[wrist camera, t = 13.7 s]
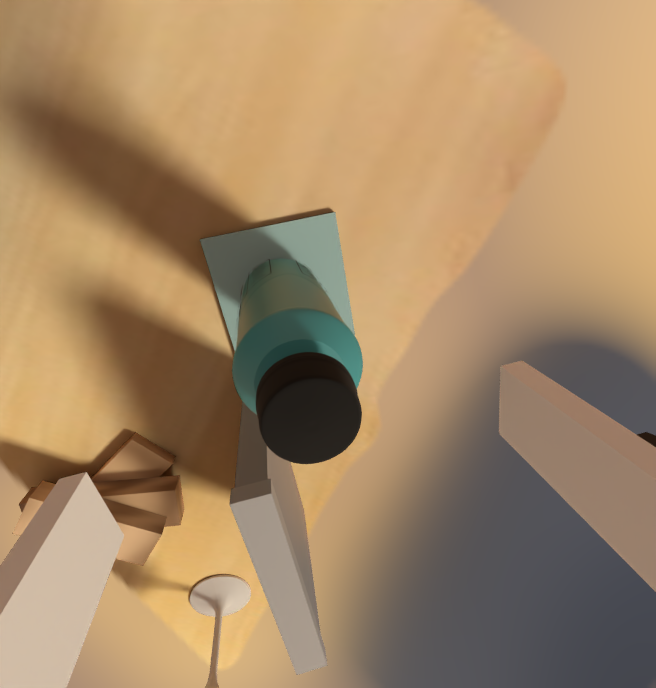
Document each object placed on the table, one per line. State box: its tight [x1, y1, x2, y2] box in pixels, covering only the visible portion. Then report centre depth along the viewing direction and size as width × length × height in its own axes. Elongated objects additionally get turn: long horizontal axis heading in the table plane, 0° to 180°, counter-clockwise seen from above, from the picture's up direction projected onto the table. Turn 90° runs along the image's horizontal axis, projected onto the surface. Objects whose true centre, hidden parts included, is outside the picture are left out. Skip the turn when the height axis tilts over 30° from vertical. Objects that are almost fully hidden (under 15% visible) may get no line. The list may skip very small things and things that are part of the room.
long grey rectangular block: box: [230, 401, 327, 675], centre depth 31 cm, size 18×2×15 cm, turn 10°
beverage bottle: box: [232, 259, 363, 464], centre depth 22 cm, size 6×7×20 cm
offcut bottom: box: [91, 432, 175, 482], centre depth 37 cm, size 14×4×2 cm, turn 134°
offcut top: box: [13, 481, 167, 566], centre depth 33 cm, size 11×4×2 cm, turn 57°
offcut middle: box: [19, 475, 184, 527], centre depth 35 cm, size 13×4×2 cm, turn 88°
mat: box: [200, 212, 355, 351], centre depth 32 cm, size 11×11×1 cm
